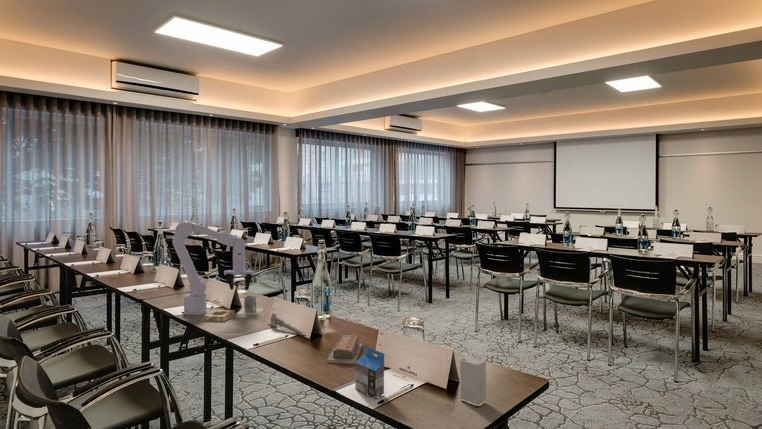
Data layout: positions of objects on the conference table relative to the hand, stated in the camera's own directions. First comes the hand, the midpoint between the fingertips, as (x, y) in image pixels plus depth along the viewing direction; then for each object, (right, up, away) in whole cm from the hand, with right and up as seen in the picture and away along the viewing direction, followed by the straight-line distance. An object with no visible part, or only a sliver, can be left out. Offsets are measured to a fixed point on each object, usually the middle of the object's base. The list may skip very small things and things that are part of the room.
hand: (239, 289), depth 216 cm
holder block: (-4, -11, -16) cm, 20 cm away
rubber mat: (+7, -10, -6) cm, 14 cm away
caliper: (+31, -12, -33) cm, 47 cm away
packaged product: (+57, -14, -57) cm, 82 cm away
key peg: (+7, -9, -6) cm, 13 cm away
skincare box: (+95, -16, -92) cm, 134 cm away
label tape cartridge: (+66, -16, -87) cm, 110 cm away
